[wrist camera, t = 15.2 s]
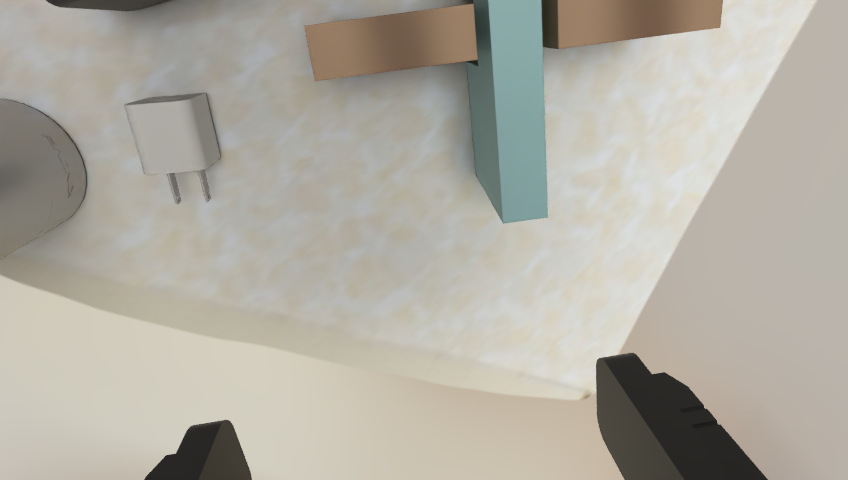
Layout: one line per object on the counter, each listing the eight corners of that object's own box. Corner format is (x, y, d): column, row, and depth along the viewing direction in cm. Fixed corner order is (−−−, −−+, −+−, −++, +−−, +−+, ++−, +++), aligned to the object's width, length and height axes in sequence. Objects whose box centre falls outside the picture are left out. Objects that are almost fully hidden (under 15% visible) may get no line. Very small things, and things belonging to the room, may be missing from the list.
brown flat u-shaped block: (335, 66, 34) (315, 81, 25) (328, 26, 33) (304, 26, 24) (631, 27, 34) (720, 27, 25) (633, -14, 33) (725, -30, 24)
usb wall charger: (208, 92, 34) (186, 100, 31) (231, 190, 37) (213, 208, 33) (148, 97, 34) (119, 105, 31) (175, 195, 37) (151, 214, 33)
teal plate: (476, 175, 38) (503, 223, 28) (447, -155, 30) (472, -236, 21) (509, 170, 38) (547, 217, 28) (490, -161, 30) (533, -244, 21)
